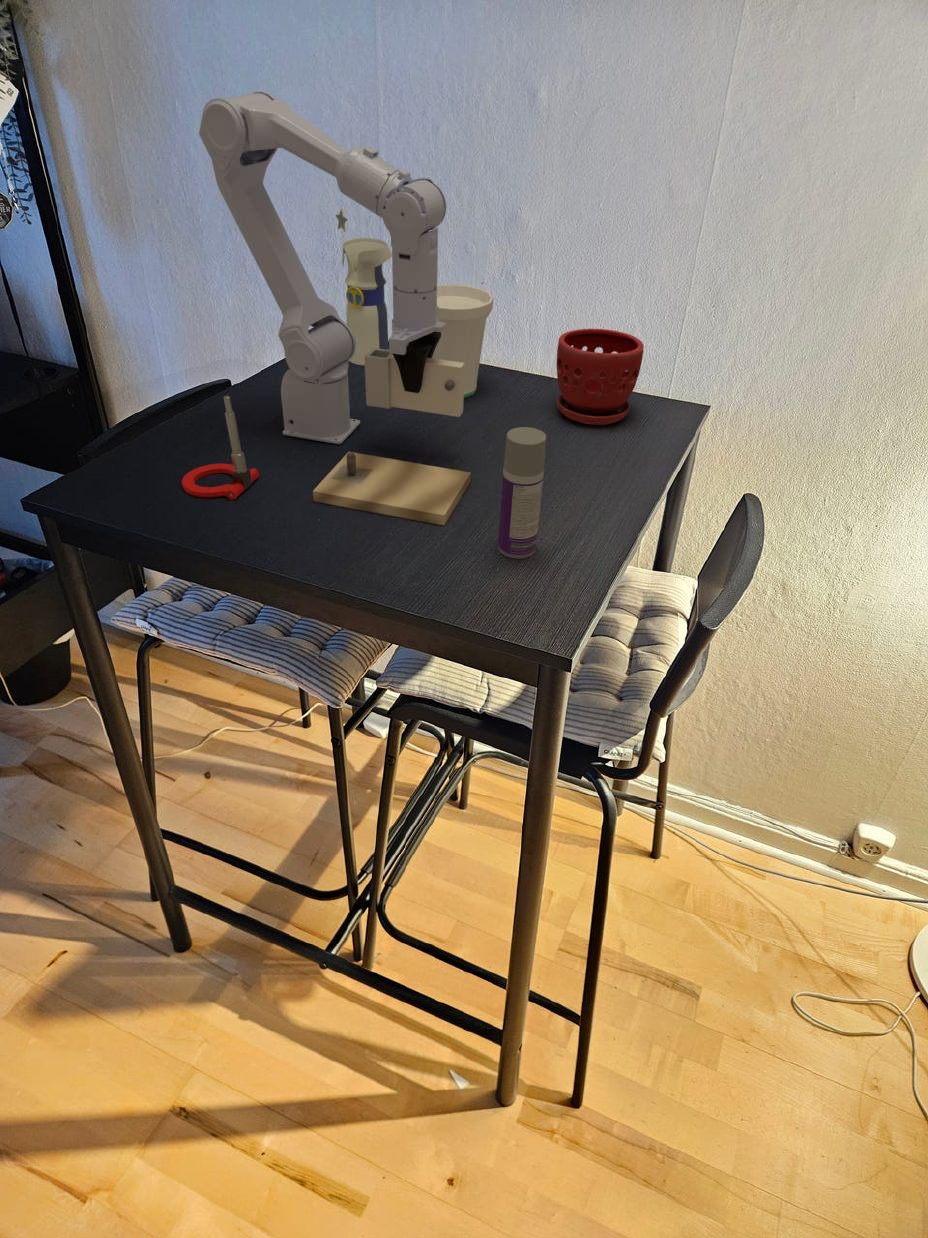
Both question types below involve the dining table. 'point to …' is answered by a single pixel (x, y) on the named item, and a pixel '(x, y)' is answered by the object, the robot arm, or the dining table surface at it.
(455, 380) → the door
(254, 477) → the tow hook
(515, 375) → the dining table surface
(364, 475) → the base board
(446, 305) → the cup
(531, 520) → the container
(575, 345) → the plant pot
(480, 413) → the dining table surface
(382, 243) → the cream spray bottle
